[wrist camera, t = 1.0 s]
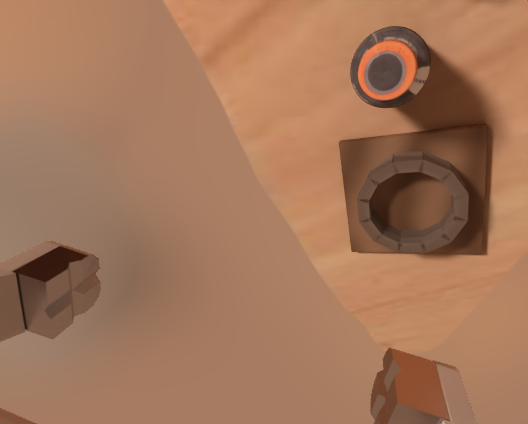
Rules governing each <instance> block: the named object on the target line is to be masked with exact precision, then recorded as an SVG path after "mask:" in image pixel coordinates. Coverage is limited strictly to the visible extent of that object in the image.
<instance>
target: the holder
mask: <svg viewBox="0 0 528 424" xmlns="http://www.w3.org/2000/svg"><path fill="white" fill-rule="evenodd" d="M487 137H488V125H487V124H481V125H472V126H464V127H455V128H446V129H438V130H429V131H420V132H412V133H403V134H394V135H386V136H377V137H368V138H360V139H351V140H342V141H340V142H339V148H340V157H341V165H342V174H343V182H344V191H345V199H346V208H347V216H348V225H349V233H350V242H351V250H352V252H388V253H444V254H482V242H483V221H484V200H485V179H486V158H487Z"/></svg>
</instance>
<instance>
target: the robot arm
mask: <svg viewBox="0 0 528 424" xmlns="http://www.w3.org/2000/svg"><path fill="white" fill-rule="evenodd" d="M99 268H100V267H99V258H97V257H96V256H95V255H93V254H89V253H87V252H84V251H81V250H78V249H75V248H72V247H69V246H65V245H63V244H60V243H57V242H54V241H45V242H43V243H41V244H39V245H36V246H35V247H32V248H31V249H28V250H26V251H25V252H22V253H20V254H19V255H16V256H14V257H12V258H11V259H8V260H6V261H5V262H2V263H0V342H1V341H4V340H6V339H8V338H11V337H13V336H16V335H18V334H21V333H23V332H25V330H27V331H30V332H33V333H36V334H39V335H42V336H45V337H47V338H50V339H54V338H55V337H56V336H57V335H59V334H60V333H61V332H62V331H64V330H65V329H66V328H67V327H68V326H70V325H71V324H72V323H73V319H74V316H76V315H79V314H82V313H85V312H86V311H88V310H89V309H90V308H91V307H92V306H93V305H94V303H95V302H96V300H97V298H98V297H99V292H100V280H99V279H98V277H97V275H96V274H95V273H96V272H97V271H98V270H99ZM371 415H372V416H373V418H374V419H375V422H374V424H477V423H476V420H475V418H474V414H473V411H472V408H471V405H470V402H469V399H468V396H467V393H466V390H465V387H464V384H463V381H462V378H461V375H460V372H459V370H458V369H457V368H456V367H454V366H451V365H447V364H444V363H440V362H437V361H431V360H428V359H425V358H421V357H418V356H415V355H412V354H409V353H405V352H402V351H399V350H396V349H392V348H388V350H387V351H386V353H385V355H384V358H383V370H382V371H380V372H378V373H377V376H376V378H375V381H374V385H373V389H372V394H371ZM0 424H36V423H34V422H31V421H29V420H27V419H25V418H22V417H20V416H18V415H15V414H13V413H11V412H9V411H6V410H4V409H2V408H0Z"/></svg>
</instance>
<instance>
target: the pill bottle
mask: <svg viewBox="0 0 528 424" xmlns="http://www.w3.org/2000/svg"><path fill="white" fill-rule="evenodd" d="M429 70H430V54H429V49H428V47H427V45H426V43H425V41H424V40H423V39H422V38H421V36H420V35H418V34H417V33H416V32H414V31H412V30H411V29H408V28H405V27H400V26H392V27H386V28H383V29H380V30H377V31H376V32H374V33H372V34H371V35H369V36H368V37H367V38H366V39H365V40H364V41H363V42H362V43H361V44H360V46H359V47H358V49H357V50H356V52H355V54H354V57H353V59H352V63H351V70H350V74H351V82H352V85H353V88H354V90H355V91H356V93H357V94H358V96H359V97H360V98H361V99H362V100H363V101H365V102H366V103H368V104H370V105H372V106H375V107H379V108H392V107H396V106H399V105H402V104H404V103H406V102H408V101H409V100H411V99H412V98H413V97H414V96H415V95H416V94H417V93H418V92H419V91H420V90H421V88H422V87H423V85H424V83H425V82H426V79H427V77H428V74H429Z"/></svg>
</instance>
